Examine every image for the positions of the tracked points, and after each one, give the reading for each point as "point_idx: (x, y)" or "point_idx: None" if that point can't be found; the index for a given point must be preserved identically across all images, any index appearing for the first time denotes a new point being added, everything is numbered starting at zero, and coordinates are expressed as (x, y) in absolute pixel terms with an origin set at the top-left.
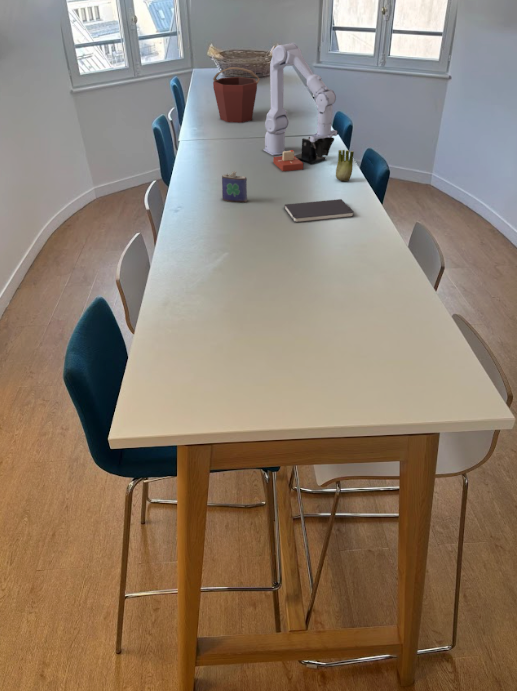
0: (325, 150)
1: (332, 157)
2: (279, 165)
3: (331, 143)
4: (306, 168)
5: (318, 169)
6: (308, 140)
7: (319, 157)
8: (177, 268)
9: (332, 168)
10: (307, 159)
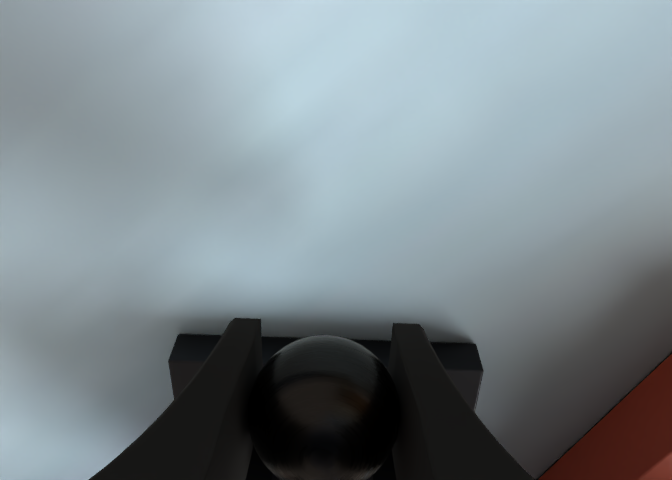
0: (323, 391)
1: (11, 336)
2: None
3: (131, 477)
4: (663, 291)
5: (610, 146)
6: None
7: None
8: None
9: (412, 6)
10: None
